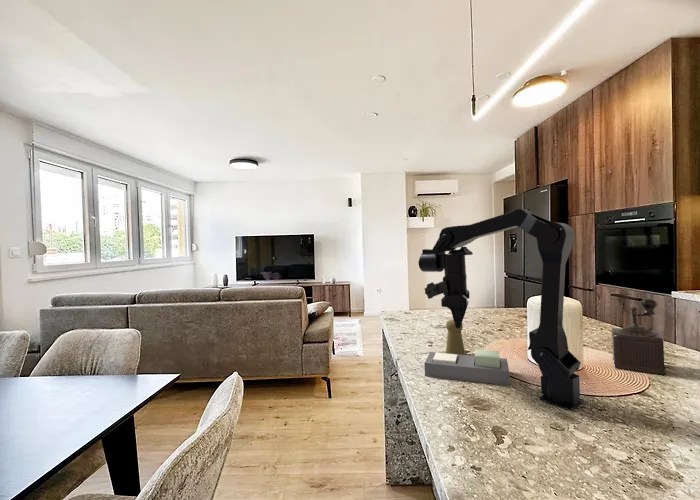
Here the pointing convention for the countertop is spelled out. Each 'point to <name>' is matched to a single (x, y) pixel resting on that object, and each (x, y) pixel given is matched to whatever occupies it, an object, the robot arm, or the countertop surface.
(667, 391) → the countertop surface
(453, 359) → the cream key
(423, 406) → the countertop surface
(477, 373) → the key panel
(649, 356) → the brown manual coffee grinder
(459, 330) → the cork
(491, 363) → the sage key
